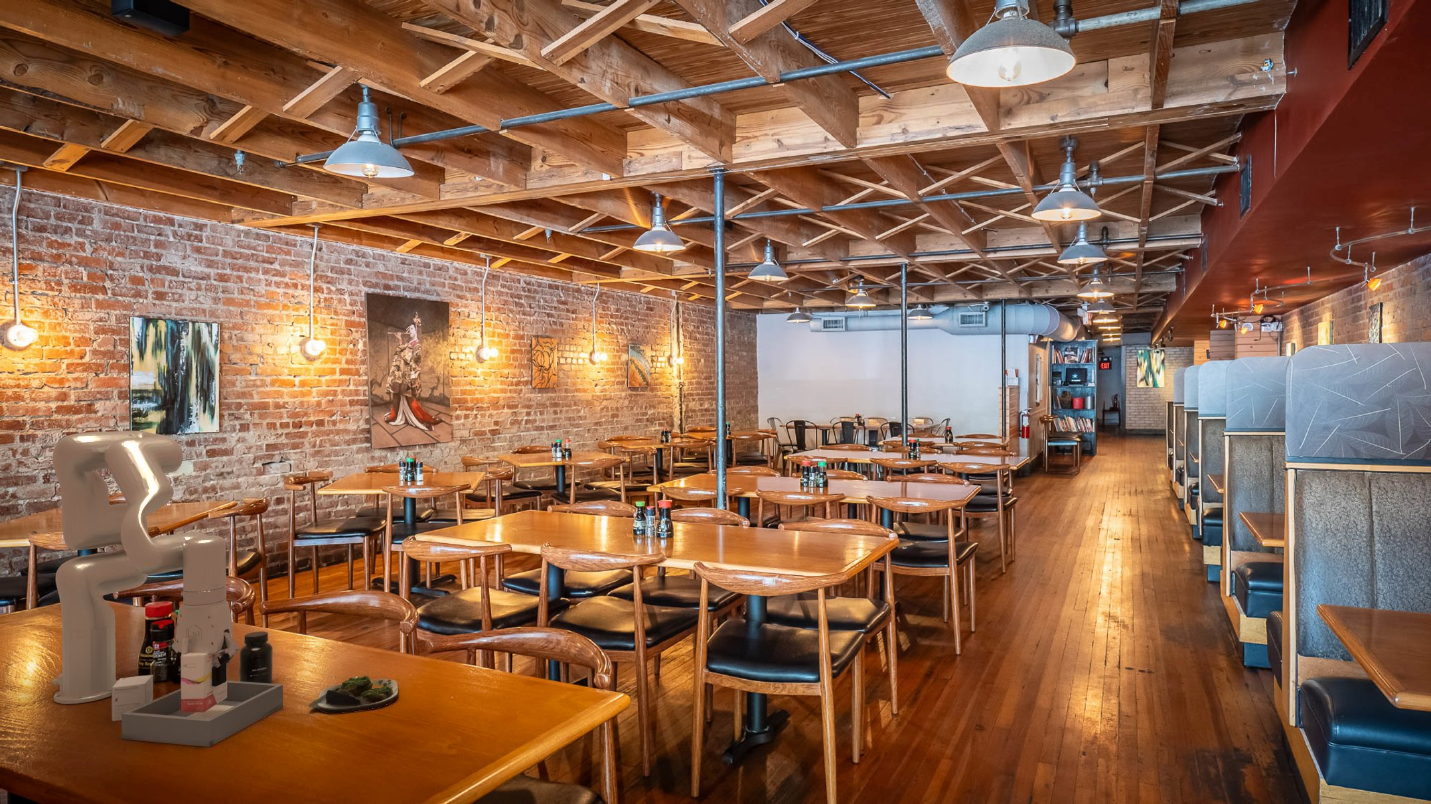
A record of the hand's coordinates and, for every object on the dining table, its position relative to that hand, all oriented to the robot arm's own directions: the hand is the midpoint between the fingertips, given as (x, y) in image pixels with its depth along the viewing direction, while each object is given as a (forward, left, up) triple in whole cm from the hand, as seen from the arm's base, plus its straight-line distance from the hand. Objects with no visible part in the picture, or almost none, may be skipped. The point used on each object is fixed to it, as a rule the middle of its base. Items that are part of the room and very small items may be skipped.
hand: (206, 682), depth 167 cm
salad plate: (+23, +17, -9) cm, 30 cm away
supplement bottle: (-6, +21, -9) cm, 23 cm away
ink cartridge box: (0, 0, -5) cm, 5 cm away
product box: (-19, +1, -9) cm, 21 cm away
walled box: (0, 0, -8) cm, 8 cm away
